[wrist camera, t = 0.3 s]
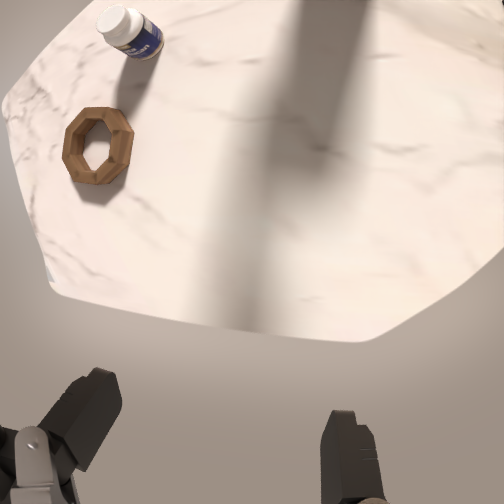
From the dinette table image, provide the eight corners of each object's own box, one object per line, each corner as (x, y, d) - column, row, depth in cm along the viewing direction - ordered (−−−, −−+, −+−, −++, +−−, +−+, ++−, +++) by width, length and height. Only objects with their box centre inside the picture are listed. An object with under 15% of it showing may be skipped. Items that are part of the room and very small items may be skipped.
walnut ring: (82, 110, 36) (69, 108, 33) (138, 110, 35) (126, 106, 32) (72, 178, 39) (59, 179, 36) (126, 186, 38) (114, 187, 35)
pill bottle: (134, 68, 34) (92, 46, 24) (128, 39, 33) (88, 15, 23) (169, 50, 33) (132, 22, 23) (161, 22, 32) (126, -8, 22)
